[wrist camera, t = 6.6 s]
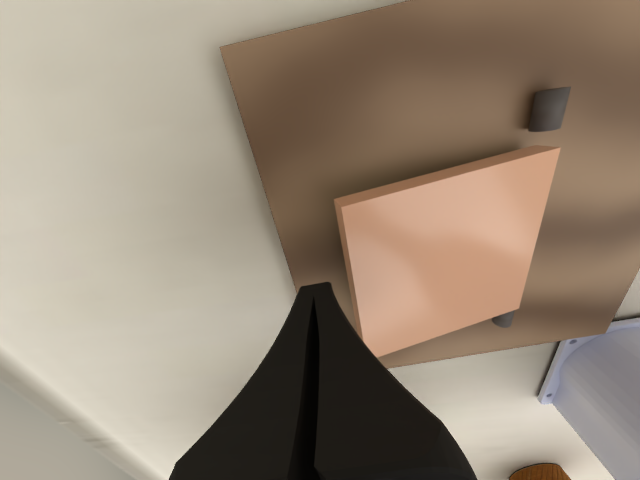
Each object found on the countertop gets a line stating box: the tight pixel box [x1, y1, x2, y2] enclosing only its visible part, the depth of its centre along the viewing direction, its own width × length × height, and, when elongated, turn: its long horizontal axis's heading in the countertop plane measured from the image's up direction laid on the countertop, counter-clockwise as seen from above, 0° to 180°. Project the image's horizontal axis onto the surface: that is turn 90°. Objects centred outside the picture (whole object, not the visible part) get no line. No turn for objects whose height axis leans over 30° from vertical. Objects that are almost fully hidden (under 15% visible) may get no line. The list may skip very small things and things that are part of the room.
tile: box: [334, 145, 561, 358], centre depth 12 cm, size 9×1×9 cm
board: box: [220, 0, 640, 369], centre depth 13 cm, size 20×20×2 cm
